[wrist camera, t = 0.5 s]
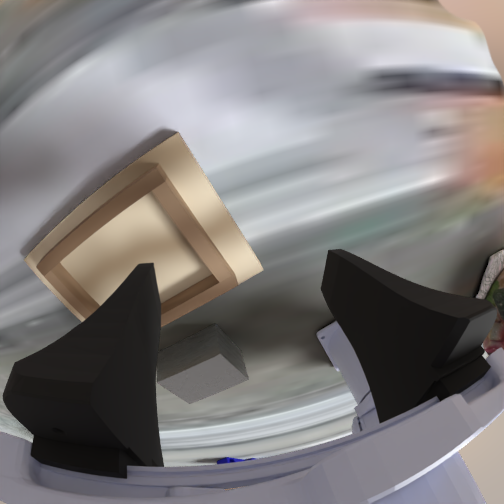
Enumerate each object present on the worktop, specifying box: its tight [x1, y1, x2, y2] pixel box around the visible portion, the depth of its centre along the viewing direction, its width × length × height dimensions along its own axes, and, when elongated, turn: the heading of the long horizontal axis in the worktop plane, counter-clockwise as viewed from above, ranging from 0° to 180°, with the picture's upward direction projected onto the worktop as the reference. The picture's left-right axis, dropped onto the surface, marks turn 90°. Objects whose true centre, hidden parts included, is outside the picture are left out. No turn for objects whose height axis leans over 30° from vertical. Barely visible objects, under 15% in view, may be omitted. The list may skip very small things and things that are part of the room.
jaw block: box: [157, 324, 248, 404], centre depth 25 cm, size 5×7×4 cm
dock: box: [24, 132, 263, 327], centre depth 19 cm, size 12×16×3 cm
